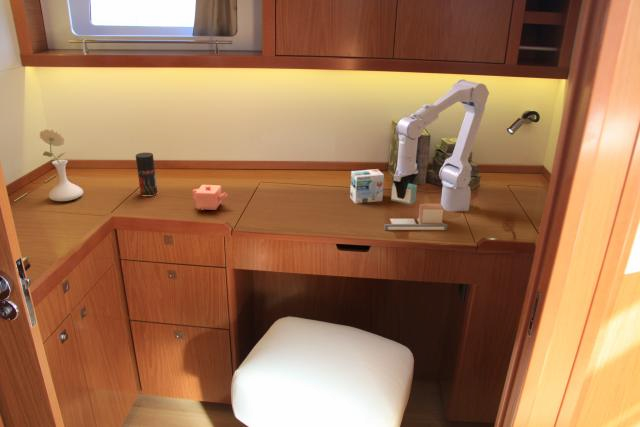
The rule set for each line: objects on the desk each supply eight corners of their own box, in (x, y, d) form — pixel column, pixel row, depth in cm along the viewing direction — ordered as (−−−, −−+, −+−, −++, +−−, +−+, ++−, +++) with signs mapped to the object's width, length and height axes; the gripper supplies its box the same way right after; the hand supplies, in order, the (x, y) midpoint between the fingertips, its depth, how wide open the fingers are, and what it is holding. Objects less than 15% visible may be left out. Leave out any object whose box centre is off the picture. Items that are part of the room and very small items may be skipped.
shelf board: (434, 210, 180) (435, 204, 179) (447, 232, 165) (447, 225, 164) (377, 210, 180) (378, 204, 179) (384, 232, 164) (385, 225, 163)
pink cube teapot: (225, 213, 176) (223, 190, 173) (191, 211, 177) (188, 189, 174) (230, 204, 183) (229, 182, 180) (197, 202, 184) (196, 181, 181)
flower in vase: (91, 195, 189) (79, 128, 179) (65, 206, 179) (51, 136, 169) (65, 189, 194) (52, 124, 184) (38, 200, 184) (23, 131, 174)
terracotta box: (439, 219, 172) (441, 203, 170) (442, 224, 168) (444, 208, 166) (418, 219, 172) (419, 203, 170) (420, 224, 168) (422, 208, 166)
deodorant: (158, 195, 190) (153, 156, 184) (141, 197, 188) (136, 158, 182) (156, 190, 195) (152, 151, 189) (140, 192, 193) (135, 153, 187)
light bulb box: (355, 205, 184) (356, 176, 180) (349, 198, 190) (350, 170, 186) (383, 202, 187) (385, 174, 182) (376, 196, 193) (378, 168, 188)
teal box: (415, 200, 169) (417, 185, 167) (410, 204, 166) (412, 188, 164) (395, 196, 173) (397, 180, 171) (390, 200, 170) (391, 184, 167)
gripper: (410, 164, 156) (406, 205, 161) (427, 152, 167) (423, 191, 173) (388, 160, 159) (385, 200, 165) (407, 148, 170) (403, 187, 176)
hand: (403, 195), depth 169 cm, fingers closed on teal box, 4 cm apart
